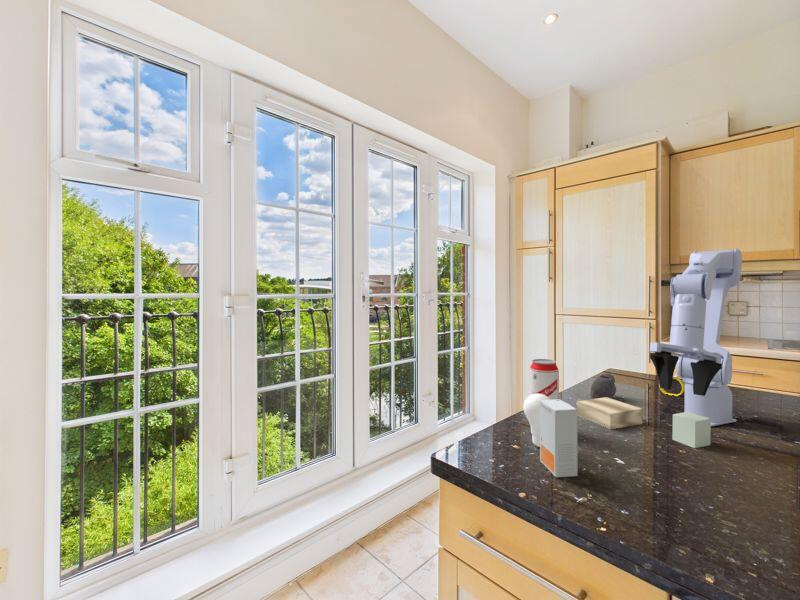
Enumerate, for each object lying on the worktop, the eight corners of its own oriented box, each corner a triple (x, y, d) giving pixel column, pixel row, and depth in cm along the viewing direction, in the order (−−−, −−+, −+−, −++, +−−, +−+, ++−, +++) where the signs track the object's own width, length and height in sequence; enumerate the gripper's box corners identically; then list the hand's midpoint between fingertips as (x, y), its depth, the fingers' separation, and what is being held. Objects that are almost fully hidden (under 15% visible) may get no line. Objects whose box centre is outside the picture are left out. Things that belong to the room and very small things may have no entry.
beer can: (561, 436, 81) (561, 364, 81) (532, 434, 83) (531, 363, 82) (555, 425, 88) (555, 358, 87) (528, 423, 89) (527, 358, 88)
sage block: (687, 436, 80) (687, 411, 80) (710, 445, 76) (710, 418, 76) (672, 439, 79) (672, 414, 78) (694, 448, 74) (695, 421, 74)
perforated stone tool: (604, 410, 97) (604, 384, 97) (582, 406, 101) (582, 381, 101) (619, 397, 108) (619, 374, 108) (599, 394, 112) (599, 371, 112)
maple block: (606, 412, 97) (606, 397, 97) (642, 425, 88) (642, 408, 88) (576, 416, 94) (576, 401, 94) (610, 431, 85) (610, 413, 85)
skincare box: (539, 461, 70) (538, 399, 69) (560, 460, 70) (560, 398, 70) (555, 478, 64) (555, 410, 63) (578, 477, 64) (578, 409, 64)
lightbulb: (553, 442, 78) (553, 391, 78) (556, 454, 73) (555, 399, 72) (523, 438, 80) (523, 389, 80) (523, 450, 75) (523, 397, 74)
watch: (684, 397, 109) (686, 377, 108) (682, 399, 107) (684, 379, 106) (660, 391, 113) (662, 372, 113) (657, 393, 111) (659, 374, 111)
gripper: (670, 320, 75) (665, 388, 73) (737, 334, 75) (733, 400, 74) (645, 322, 82) (639, 384, 80) (706, 334, 82) (701, 396, 81)
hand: (682, 392), depth 77 cm, fingers open, 7 cm apart
